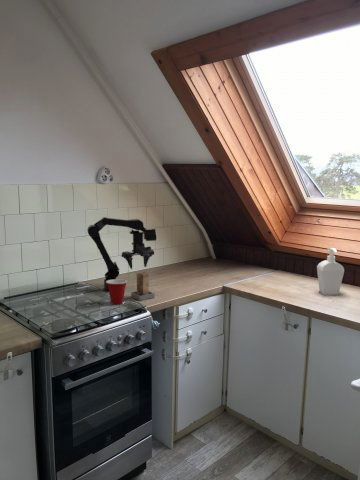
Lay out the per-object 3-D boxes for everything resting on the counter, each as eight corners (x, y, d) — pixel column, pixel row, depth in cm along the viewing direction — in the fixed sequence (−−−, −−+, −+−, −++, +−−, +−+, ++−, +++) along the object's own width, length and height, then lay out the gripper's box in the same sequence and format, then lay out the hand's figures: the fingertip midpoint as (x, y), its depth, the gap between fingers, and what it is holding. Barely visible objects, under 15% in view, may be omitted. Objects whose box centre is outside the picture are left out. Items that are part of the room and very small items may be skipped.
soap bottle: (321, 296, 231) (324, 250, 226) (315, 290, 240) (318, 246, 236) (344, 296, 231) (347, 250, 227) (336, 290, 241) (339, 246, 237)
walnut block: (136, 296, 226) (136, 273, 224) (142, 294, 230) (142, 271, 227) (143, 298, 223) (143, 274, 221) (148, 296, 227) (148, 272, 225)
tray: (139, 301, 220) (139, 296, 220) (131, 296, 228) (131, 292, 227) (154, 297, 226) (154, 293, 225) (145, 293, 233) (145, 289, 233)
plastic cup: (128, 299, 223) (128, 277, 221) (126, 306, 212) (126, 283, 210) (107, 299, 222) (107, 277, 220) (105, 306, 212) (104, 283, 210)
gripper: (130, 245, 227) (131, 273, 230) (159, 241, 238) (159, 268, 241) (120, 242, 236) (121, 269, 239) (148, 239, 247) (149, 264, 250)
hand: (138, 268), depth 242 cm, fingers open, 9 cm apart
